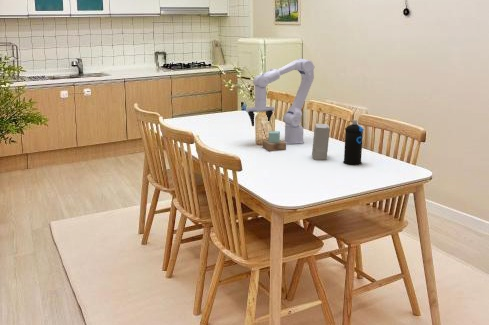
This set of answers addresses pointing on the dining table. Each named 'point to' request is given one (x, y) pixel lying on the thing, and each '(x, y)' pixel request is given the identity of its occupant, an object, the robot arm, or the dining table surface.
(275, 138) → the teal block
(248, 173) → the dining table surface
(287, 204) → the dining table surface
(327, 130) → the skincare box
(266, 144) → the walnut block
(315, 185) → the dining table surface
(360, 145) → the aerosol can
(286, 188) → the dining table surface
